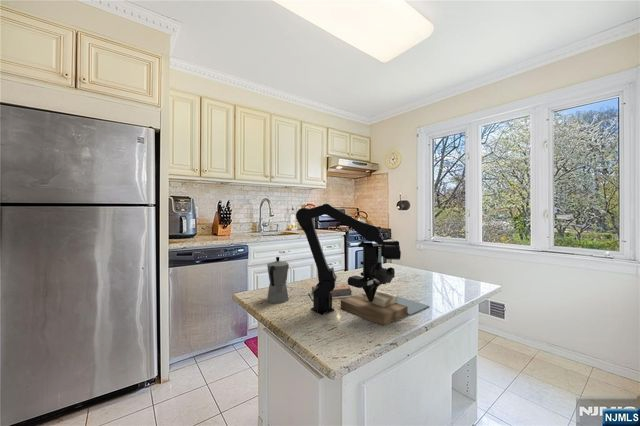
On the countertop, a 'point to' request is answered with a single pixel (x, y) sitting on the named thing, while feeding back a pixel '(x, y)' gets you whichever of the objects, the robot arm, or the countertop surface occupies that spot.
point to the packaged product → (337, 291)
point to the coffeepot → (277, 281)
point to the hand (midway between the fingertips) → (370, 301)
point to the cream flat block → (382, 298)
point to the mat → (411, 305)
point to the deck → (374, 310)
